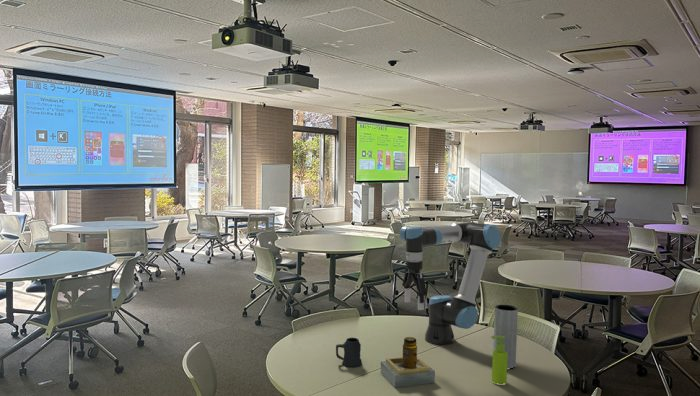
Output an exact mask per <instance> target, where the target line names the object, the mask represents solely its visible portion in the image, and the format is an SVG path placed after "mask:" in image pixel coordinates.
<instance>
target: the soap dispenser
mask: <svg viewBox="0 0 700 396" xmlns="http://www.w3.org/2000/svg"><path fill="white" fill-rule="evenodd" d="M490 338H491V339H492V340H494V339H495V338H499V341H498V343H497V344H496V350H494V351H493V350H492V364H491V365H492V367H491V369H492V370H491V382H492V381H493V382H495V383H499V384H503V383H506V384H507V378H508V377H507V375H508V369H507V352H506V351H504V349H505V344H503V339H505V337H504V336H499V335H496V336H494V335H491V336H490Z"/></svg>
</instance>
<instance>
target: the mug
mask: <svg viewBox="0 0 700 396" xmlns="http://www.w3.org/2000/svg"><path fill="white" fill-rule="evenodd" d="M361 346H362V345H361V343H360V340H359V338H356V337H347V338H346V340H345V341H344V343H343V344H342V343H341V344H336V345H335V354H336V355H335V356H336V357H337V359H339V360H342V363H341V364H342V366H344V367H346V368H359V367H361V366H362V365H363V363H362V362H363V361H362V359H361V349H362V347H361ZM339 348H343V357H342V356H341V355H340V354H339Z"/></svg>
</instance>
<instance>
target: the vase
mask: <svg viewBox="0 0 700 396" xmlns="http://www.w3.org/2000/svg"><path fill="white" fill-rule="evenodd" d="M518 314H519V312H518V308H517V306H514V305H509V304H497V305H495V306H494V317H493V318H494V322H493V324H494V325H493V326H494V327H493V336H496V335H499V336H504V337H505V339H503V344H505V349H504V351H506V352H507V368H512V367H515V368H516V366H515V365H516V363H517V361H516V360H517V340H518V339H517V337H518ZM498 341H499V338H495V339H493V350H492V352H493V351H494V350H496V344H497V343H498Z"/></svg>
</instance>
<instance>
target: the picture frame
mask: <svg viewBox="0 0 700 396" xmlns="http://www.w3.org/2000/svg"><path fill="white" fill-rule="evenodd" d="M402 361H403V356H400V357H390V358H385V361H383V360H382V361H380V374H381V375H382V376H383V377H384V378H385V380H387V381H388V382H389V383H390V385H392V387H394V388H395V389H396V388H397V389H398V388H406V387H412V386H420V385H428V384H429V385H430V384H435V382H436V381H435V379H436V378H435V377H436V371H435V370H434V369H433V368H431V367H430V366H429V365H428V364H427V363H425V362H424V361H423V360H422V359H421V358H420V357H418V356H417V365H418V366H420V367H419V368H410V369H400V368H399V367H397V366H396V365H395V364H400V363H402Z"/></svg>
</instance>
